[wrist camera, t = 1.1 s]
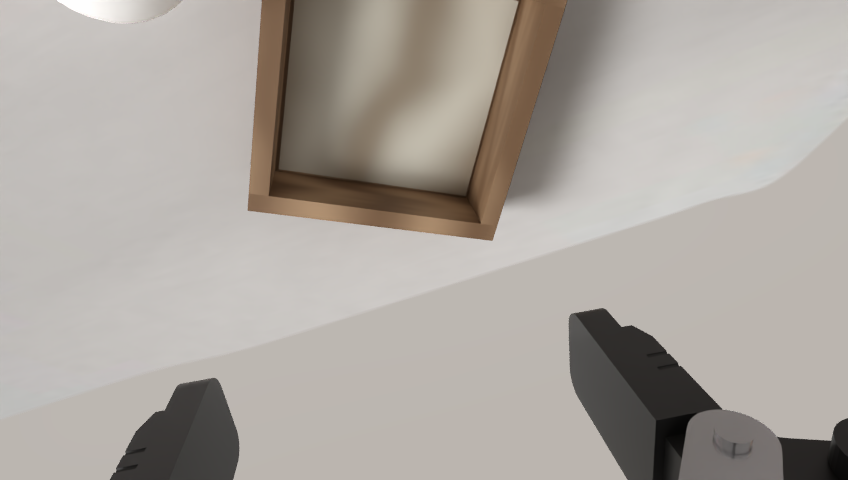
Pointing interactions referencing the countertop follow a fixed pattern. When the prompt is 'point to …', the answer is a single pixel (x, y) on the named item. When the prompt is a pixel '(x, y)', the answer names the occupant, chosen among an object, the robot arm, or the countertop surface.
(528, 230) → the countertop surface
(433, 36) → the parts box
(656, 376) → the robot arm
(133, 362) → the countertop surface
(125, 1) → the lightbulb
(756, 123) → the countertop surface
